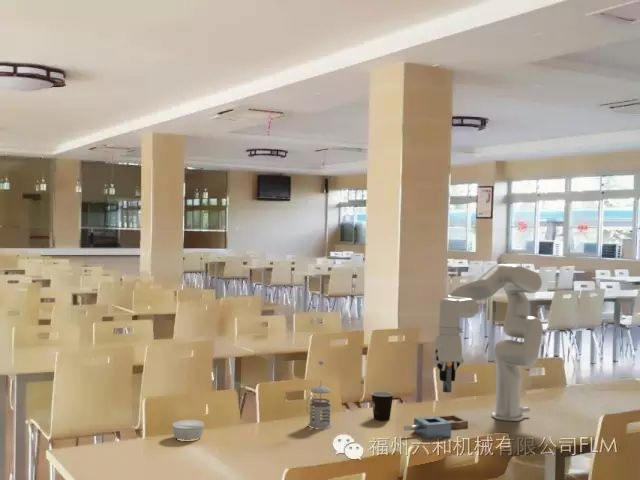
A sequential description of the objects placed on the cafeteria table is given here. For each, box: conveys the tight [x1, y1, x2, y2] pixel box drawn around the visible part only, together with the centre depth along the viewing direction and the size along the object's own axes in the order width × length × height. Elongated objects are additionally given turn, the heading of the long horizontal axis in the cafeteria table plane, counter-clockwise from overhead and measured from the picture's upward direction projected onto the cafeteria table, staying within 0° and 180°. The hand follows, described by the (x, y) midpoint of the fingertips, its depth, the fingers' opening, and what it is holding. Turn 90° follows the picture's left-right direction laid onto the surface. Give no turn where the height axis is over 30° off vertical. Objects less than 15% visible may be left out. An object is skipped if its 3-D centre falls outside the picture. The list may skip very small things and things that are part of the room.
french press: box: [306, 360, 333, 430], centre depth 271 cm, size 10×12×25 cm
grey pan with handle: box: [403, 415, 452, 440], centre depth 263 cm, size 16×10×5 cm, turn 111°
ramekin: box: [171, 419, 205, 440], centre depth 253 cm, size 11×11×5 cm
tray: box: [438, 414, 469, 430], centre depth 277 cm, size 12×10×2 cm
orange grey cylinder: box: [442, 362, 453, 393], centre depth 265 cm, size 3×3×12 cm
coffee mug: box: [371, 391, 394, 422], centre depth 285 cm, size 12×9×10 cm
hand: (447, 380), depth 265 cm, fingers closed on orange grey cylinder, 3 cm apart
